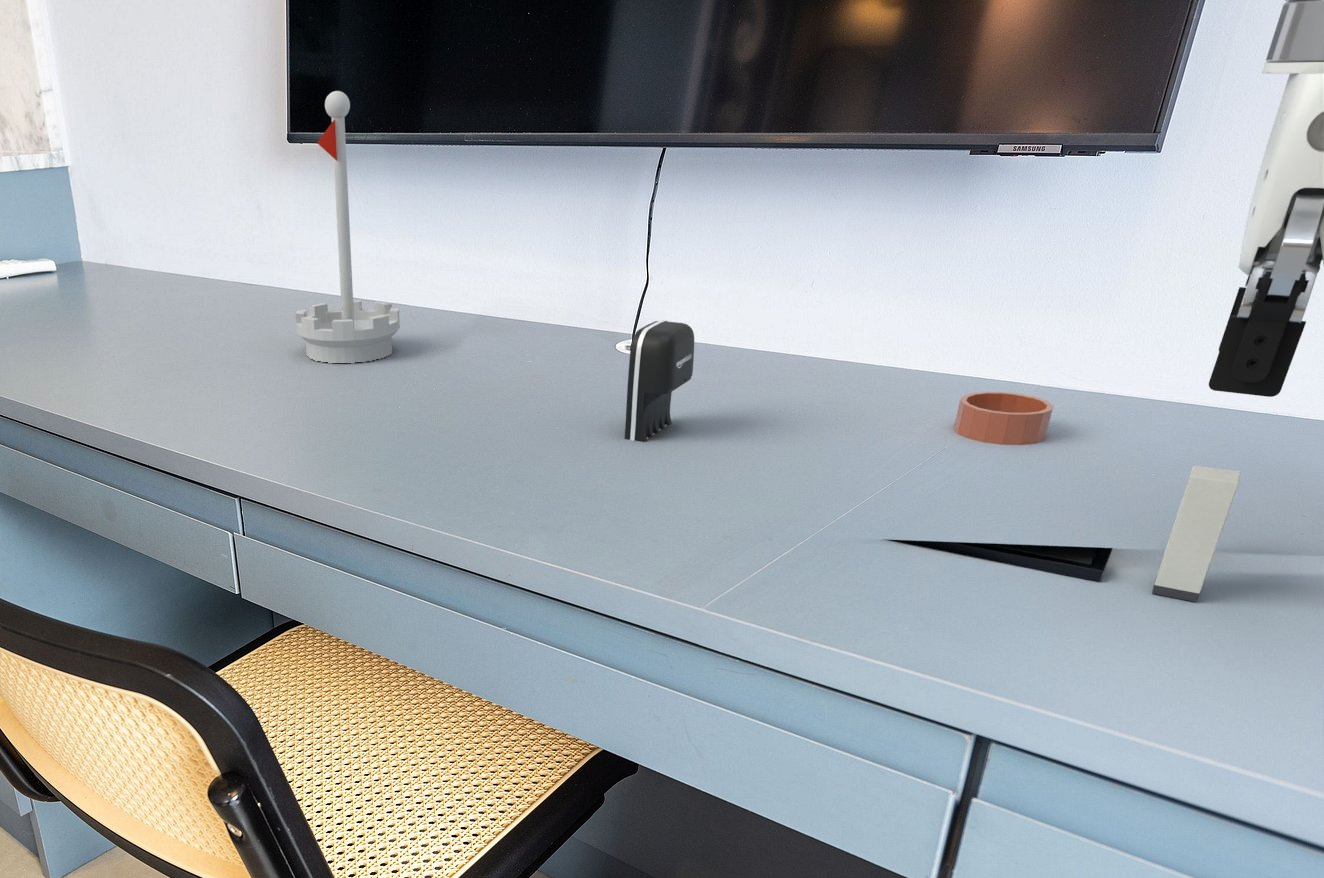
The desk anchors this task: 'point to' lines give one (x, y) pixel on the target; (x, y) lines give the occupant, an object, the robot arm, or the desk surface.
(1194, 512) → the grey piece
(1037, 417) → the bangle ring
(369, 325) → the flag stand
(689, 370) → the battery charger
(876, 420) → the desk surface
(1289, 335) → the robot arm
